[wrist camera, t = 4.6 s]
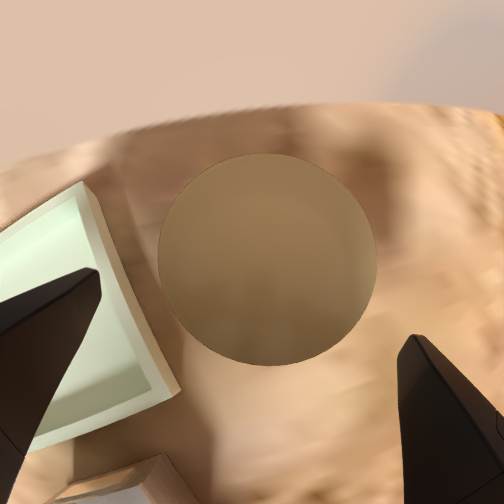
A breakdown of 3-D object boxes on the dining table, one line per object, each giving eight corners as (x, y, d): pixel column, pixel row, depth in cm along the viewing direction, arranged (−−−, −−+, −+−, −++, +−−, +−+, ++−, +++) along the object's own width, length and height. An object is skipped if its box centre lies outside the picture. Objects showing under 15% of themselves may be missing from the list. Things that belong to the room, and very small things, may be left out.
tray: (181, 389, 16) (172, 397, 13) (24, 451, 14) (3, 460, 11) (97, 198, 19) (81, 180, 16) (-32, 283, 16) (-54, 275, 14)
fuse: (308, 325, 17) (412, 292, 6) (232, 366, 16) (223, 406, 6) (267, 251, 18) (305, 127, 7) (192, 290, 17) (126, 207, 7)
